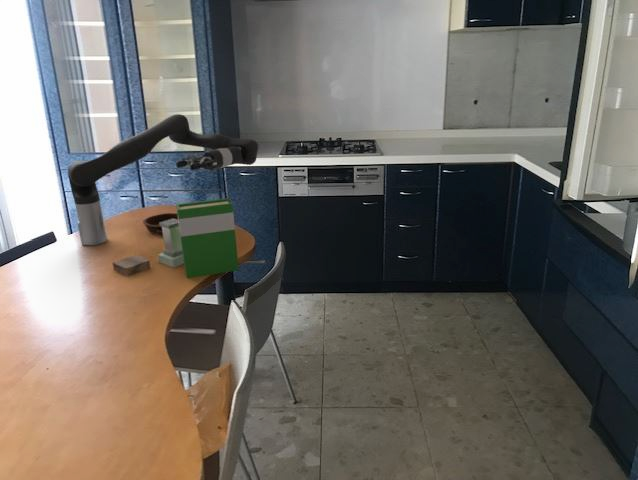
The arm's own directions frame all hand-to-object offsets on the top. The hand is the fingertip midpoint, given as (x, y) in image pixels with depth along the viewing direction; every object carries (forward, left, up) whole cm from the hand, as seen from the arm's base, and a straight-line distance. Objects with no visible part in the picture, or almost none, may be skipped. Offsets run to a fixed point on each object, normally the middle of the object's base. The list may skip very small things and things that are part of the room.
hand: (183, 166), depth 188 cm
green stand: (-6, -14, -32) cm, 35 cm away
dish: (-14, +25, -32) cm, 43 cm away
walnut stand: (-21, -18, -32) cm, 42 cm away
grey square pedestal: (-6, -14, -29) cm, 33 cm away
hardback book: (+7, -26, -32) cm, 42 cm away
